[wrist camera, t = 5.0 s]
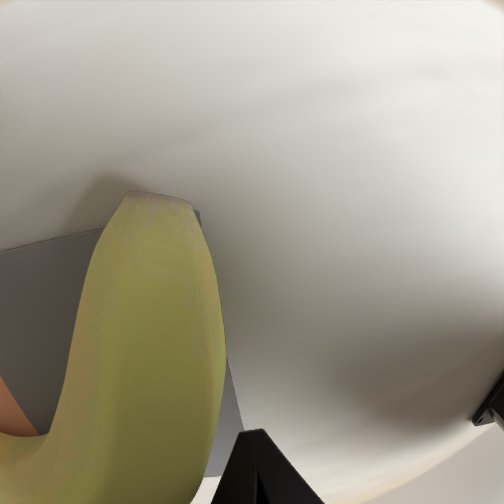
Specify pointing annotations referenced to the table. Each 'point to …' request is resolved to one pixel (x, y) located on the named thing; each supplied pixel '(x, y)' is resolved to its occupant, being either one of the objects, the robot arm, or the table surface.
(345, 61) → the table surface
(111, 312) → the banana
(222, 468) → the mat
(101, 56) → the table surface
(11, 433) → the pad
